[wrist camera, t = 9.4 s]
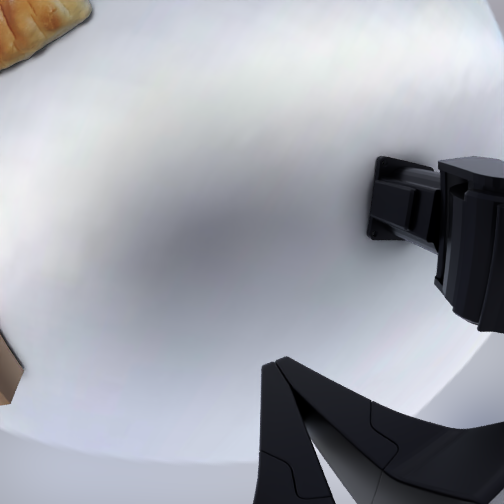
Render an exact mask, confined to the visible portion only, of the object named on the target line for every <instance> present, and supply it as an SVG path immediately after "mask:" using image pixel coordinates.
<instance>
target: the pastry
mask: <svg viewBox="0 0 504 504" xmlns="http://www.w3.org/2000/svg"><path fill="white" fill-rule="evenodd" d="M91 11H92V7H91V4H90V2H89V0H0V70H2V69H5V68H8V67H10V66H11V65H13V64H15V63H17V62H19V61H22V60H27V59H29V58H30V57H31V56H32V55H33V54H34V53H35V52H36V51H38V50H40V49H42V48H43V47H44V46H46V45H47V44H49V43H51V42H52V41H54V40H56V39H58V38H60V37H61V36H62V35H64V34H65V33H67V32H68V31H70V30H71V29H73V28H74V27H76V26H77V25H78V24H79V23H81V22H83V21H84V20H85V19H86V18H87V17H89V15H90V13H91Z"/></svg>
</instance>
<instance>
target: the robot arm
mask: <svg viewBox="0 0 504 504" xmlns="http://www.w3.org/2000/svg"><path fill="white" fill-rule="evenodd" d="M383 161H384V165H383ZM438 169H439V170H440V173H439V172H434V170H433V168H431V167H427V166H424V165H420V164H416V163H412V162H407V161H403V160H399V159H394V158H390V157H385V156H380V157H379V158H378V159H377V165H376V174H375V182H374V190H373V197H372V204H371V211H370V217H369V224H368V230H367V236H368V238H370V239H372V240H407V241H409V242H412V243H414V244H416V245H418V246H420V247H422V248H424V249H426V250H429V251H431V252H433V253H435V254H437V255H438V263H437V273H436V276H435V280H434V284H435V285H436V287H437V288H438V289H439V290H440V291H441V293H442V294H443V295H444V296H445V298H446V299H447V300H448V302H449V303H450V304H451V305H452V306H453V312H454V313H455V314H456V315H458V316H459V317H461V318H463V319H464V320H466V321H468V322H470V323H472V324H475V325H478V327H477V330H478V331H480V332H498V333H504V162H503V161H502V160H499V159H493V158H485V157H477V156H472V157H464V158H455V159H448V160H440V161H438ZM373 232H374V234H373ZM372 234H373V235H372ZM311 440H312V441H311ZM312 442H313V443H314V444H315V446H316V447H317V449H318V450H319V452H320V453H321V454H322V456H323V457H324V459H325V460H326V462H327V463H328V464H329V466H330V467H331V468H332V470H333V471H334V473H335V474H336V476H337V477H338V478H339V479H340V481H341V482H342V484H343V485H344V487H345V488H346V489H347V491H348V492H349V493H350V495H351V496H352V497H353V499H354V500H355V501H356V503H357V504H504V422H500V423H495V424H491V425H486V426H481V427H476V428H470V429H455V428H449V427H445V426H442V425H438V424H434V423H431V422H427V421H423V420H420V419H417V418H414V417H411V416H408V415H405V414H402V413H399V412H396V411H394V410H392V409H389V408H387V407H385V406H382V405H380V404H378V403H376V402H374V401H372V402H371V400H370V399H368V398H366V397H364V396H362V395H360V394H358V393H356V392H354V391H352V390H350V389H348V388H346V387H344V386H342V385H340V384H338V383H336V382H334V381H332V380H330V379H328V378H326V377H325V376H323V375H321V374H319V373H317V372H315V371H313V370H311V369H310V368H308V367H306V366H304V365H302V364H300V363H299V362H297V361H295V360H293V359H291V358H290V357H287V356H286V357H283V358H280V359H278V360H276V361H275V362H270V363H267V364H265V365H263V366H262V369H261V411H260V447H259V451H260V452H259V468H258V479H257V485H256V491H255V496H254V501H253V504H336V503H335V501H334V499H333V496H332V493H331V490H330V488H329V486H328V483H327V480H326V478H325V475H324V472H323V470H322V467H321V465H320V462H319V460H318V457H317V454H316V452H315V449H314V447H313V444H312Z"/></svg>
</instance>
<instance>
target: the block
mask: <svg viewBox="0 0 504 504" xmlns="http://www.w3.org/2000/svg"><path fill="white" fill-rule="evenodd" d="M23 372H24V370H23V369H22V367H21V366H20V364H19V363H18V361H17V360H16V359H15V357H14V355H13V354H12V352H11V351H10V349H9V348H8V346H7V345H6V343H5V341H4V340H3V338H2V336H1V335H0V405H7V404H11V401H12V399H13V396H14V394H15V391H16V389H17V386H18V384H19V381H20V379H21V377H22V374H23Z"/></svg>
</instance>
